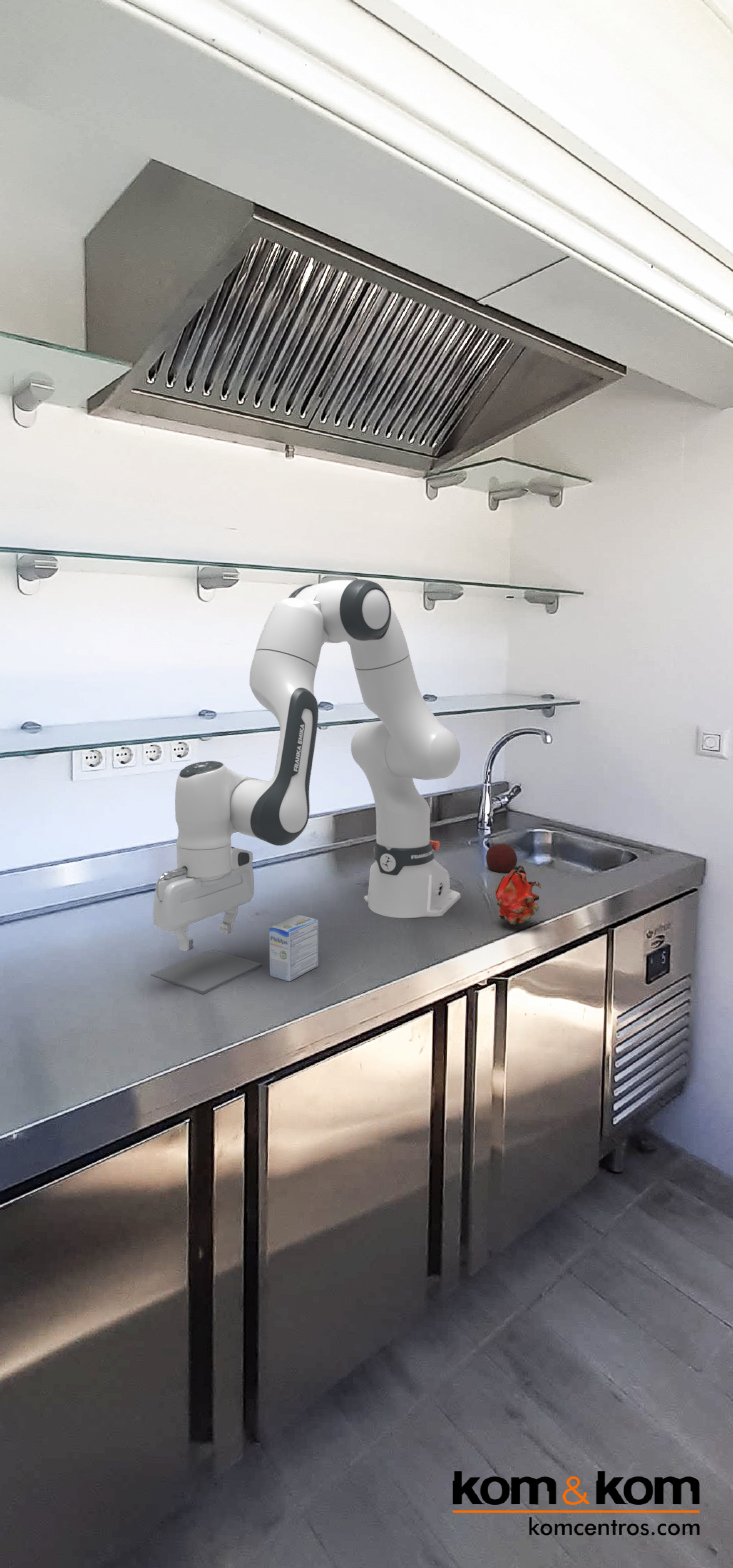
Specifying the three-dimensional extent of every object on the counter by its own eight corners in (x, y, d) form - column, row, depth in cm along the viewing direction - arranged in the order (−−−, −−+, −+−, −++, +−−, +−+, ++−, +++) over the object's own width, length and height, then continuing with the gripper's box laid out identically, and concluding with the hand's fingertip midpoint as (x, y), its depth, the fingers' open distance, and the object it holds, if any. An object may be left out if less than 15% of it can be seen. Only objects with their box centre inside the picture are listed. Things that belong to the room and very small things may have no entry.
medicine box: (298, 962, 143) (298, 914, 142) (319, 967, 141) (318, 918, 140) (269, 976, 137) (268, 926, 136) (290, 982, 135) (289, 931, 133)
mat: (211, 952, 148) (211, 949, 148) (262, 966, 141) (261, 963, 141) (150, 977, 136) (150, 974, 136) (203, 994, 130) (203, 991, 130)
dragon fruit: (517, 935, 157) (519, 874, 155) (484, 924, 163) (486, 865, 161) (546, 926, 162) (548, 867, 160) (512, 915, 169) (514, 858, 167)
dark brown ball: (479, 870, 203) (480, 842, 202) (506, 867, 206) (507, 839, 205) (496, 877, 197) (497, 849, 195) (523, 874, 200) (524, 846, 199)
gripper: (170, 878, 125) (173, 964, 128) (259, 851, 142) (261, 928, 144) (142, 872, 129) (145, 956, 131) (232, 846, 146) (234, 921, 148)
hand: (207, 941), depth 138 cm, fingers open, 8 cm apart
